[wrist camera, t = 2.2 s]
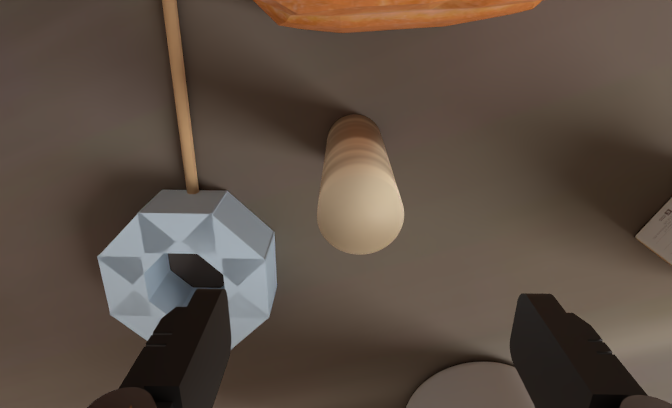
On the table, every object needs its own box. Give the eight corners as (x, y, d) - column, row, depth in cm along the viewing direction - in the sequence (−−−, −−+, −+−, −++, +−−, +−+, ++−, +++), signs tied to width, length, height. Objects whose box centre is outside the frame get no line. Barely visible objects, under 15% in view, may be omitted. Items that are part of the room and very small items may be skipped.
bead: (116, 188, 31) (86, 211, 27) (273, 190, 31) (263, 213, 27) (141, 317, 35) (118, 352, 32) (279, 319, 35) (271, 355, 31)
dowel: (327, 113, 29) (316, 174, 18) (382, 114, 29) (406, 175, 18) (327, 167, 30) (317, 253, 19) (380, 167, 30) (401, 255, 19)
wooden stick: (153, -90, 25) (147, -93, 24) (167, -89, 25) (162, -93, 24) (189, 193, 31) (185, 198, 30) (201, 194, 31) (197, 198, 30)
